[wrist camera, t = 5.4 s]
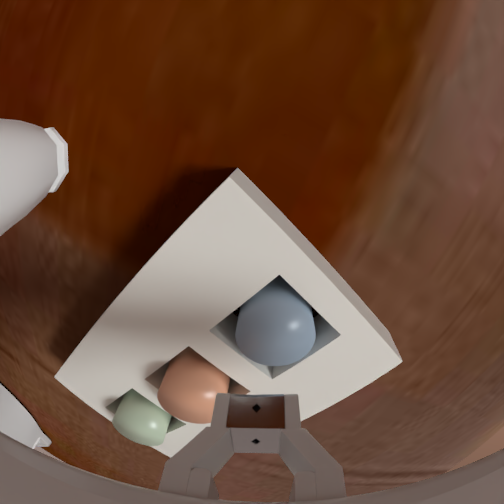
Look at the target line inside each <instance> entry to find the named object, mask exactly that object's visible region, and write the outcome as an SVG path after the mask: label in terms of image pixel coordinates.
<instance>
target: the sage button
mask: <svg viewBox="0 0 504 504" xmlns="http://www.w3.org/2000/svg"><path fill="white" fill-rule="evenodd" d="M171 416H172V415H171V414H169V413H167V412H166V411H164V410H163V409H161V408H160V407H158V406H157V405H155V404H154V403H152V402H151V401H149V400H148V399H147V398H145V397H144V396H142V395H141V394H140V393H138V392H137V391H135V390H134V389H133V388H132V389H130V390H129V391H127V392H126V393H125V394H124V396H123V398H122V400H121V402H120V404H119V407H118V409H117V411H116V413H115V415H114V417H113V419H112V423H113V425H114V427H115V428H116V430H117V431H118V432H119V433H121V434H122V435H123V436H125V437H126V438H128V439H130V440H132V441H134V442H136V443H139V444H143V445H147V446H158V445H161V444H162V443H163V442H164V438H165V435H166V432H167V429H168V426H169V423H170V419H171Z"/></svg>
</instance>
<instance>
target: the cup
mask: <svg viewBox="0 0 504 504" xmlns="http://www.w3.org/2000/svg"><path fill="white" fill-rule="evenodd" d="M68 171H69V168H68V144H67V143H66V142H65V140H64V139H63V138H62V137H61V136H60V134H59V133H58V132H57V131H56V130H55V128H54V127H52V128H46V129H43V128H42V127H40V126H37V125H34V124H30V123H27V122H24V121H20V120H10V119H0V236H1V235H2V234H3V233H4V232H6V231H7V230H8V229H9V228H11V227H12V226H13V225H14V224H16V223H17V222H18V221H20V220H21V219H22V218H23V217H25V216H26V215H27V214H28V213H29V212H30V211H31V210H32V209H33V208H34V207H35V206H36V205H37V204H39V203H40V202H41V201H42V200H43V199H44V198H45V197H46V195H47V193H48V192H54V191H57V189H58V187H59V186H60V184H61V182H62V181H63V179H64V178H65V176H66V175H67V173H68Z"/></svg>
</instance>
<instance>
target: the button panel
mask: <svg viewBox="0 0 504 504" xmlns="http://www.w3.org/2000/svg"><path fill="white" fill-rule="evenodd" d="M278 275H280V276H281V277H282V278H283V279H284V280H285V281H286V282H288V283H289V284H290V285H291V286H292V287H293V288H294V289H295V290H296V291H297V292H298V293H299V294H300V295H301V296H302V297H303V298H304V299H305V300H306V301H307V302H308V303H309V304H310V305H311V306H312V307H313V308H314V309H315V310H316V311H317V312H318V313H319V314H318V315H317V316H315V317H314V318H313V320H314V326H315V332H316V337H315V342H314V345H313V347H312V349H311V350H310V351H309V353H308V354H307V355H305V356H304V357H303V358H302V359H300V360H298V361H296V362H294V363H291V364H288V365H284V366H267V365H262V364H259V363H256V362H254V361H252V360H250V359H249V358H247V357H246V356H245V355H244V354H243V353H242V352H241V351H240V349H239V348H238V345H237V343H236V338H235V333H236V327H237V321H238V317H237V316H236V315H235V314H234V313H233V311H235V310H236V309H237V308H238V307H240V306H241V305H242V304H243V303H245V302H246V301H247V300H248V299H250V298H251V297H252V296H253V295H255V294H256V293H257V292H258V291H260V290H261V289H262V288H263V287H265V286H266V285H267V284H268V283H270V282H271V281H272V280H273V279H275V278H276V277H277V276H278ZM188 346H189V347H191V348H192V349H193V350H195V351H196V352H197V353H198V354H200V355H201V356H202V357H204V358H205V359H206V360H208V361H209V362H210V363H212V364H213V365H214V366H216V367H217V368H218V369H220V370H221V371H222V372H224V373H225V374H227V375H228V376H229V377H230V382H229V387H228V393H229V394H247V395H261V394H298V397H299V409H300V421H302V420H304V419H306V418H308V417H310V416H312V415H314V414H316V413H318V412H320V411H322V410H324V409H326V408H328V407H330V406H332V405H333V404H335V403H337V402H339V401H341V400H342V399H344V398H346V397H348V396H349V395H351V394H353V393H354V392H356V391H358V390H360V389H361V388H363V387H364V386H366V385H368V384H369V383H371V382H373V381H374V380H376V379H377V378H379V377H380V376H382V375H384V374H385V373H387V372H388V371H390V370H391V369H393V368H394V367H396V366H397V365H398V364H400V363H401V362H403V361H402V359H401V357H400V354H399V352H398V350H397V348H396V346H395V344H394V341H393V339H392V337H391V335H390V333H389V331H388V330H387V329H386V328H385V326H384V325H383V324H382V323H381V322H380V321H379V319H378V318H377V317H376V316H375V315H374V314H373V312H372V311H371V310H370V309H369V308H368V307H367V305H366V304H365V303H364V302H363V301H362V300H361V299H360V297H359V296H358V295H357V294H356V293H355V292H354V291H353V289H352V288H351V287H350V286H349V285H348V284H347V283H346V282H345V280H344V279H343V278H342V277H341V276H340V275H339V274H338V273H337V271H336V270H335V269H334V268H333V267H332V266H331V265H330V264H329V263H328V262H327V260H326V259H325V258H324V257H323V256H322V255H321V254H320V253H319V252H318V251H317V250H316V248H315V247H314V246H313V245H312V244H311V243H310V242H309V241H308V240H307V239H306V238H305V237H304V236H303V234H302V233H301V232H300V231H299V230H298V229H297V228H296V227H295V226H294V225H293V224H292V223H291V222H290V221H289V220H288V219H287V218H286V216H285V215H284V214H283V213H282V212H281V211H280V210H279V209H278V208H277V207H276V206H275V205H274V204H273V203H272V202H271V201H270V200H269V199H268V198H267V197H266V196H265V195H264V194H263V193H262V192H261V191H260V190H259V189H258V188H257V187H256V186H255V185H254V184H253V183H252V182H251V181H250V180H249V179H248V177H247V176H246V175H245V174H244V173H243V172H242V171H240V170H239V169H238V168H237V169H236V170H235V171H234V172H233V173H232V174H231V175H230V176H229V177H228V178H227V179H226V180H225V181H224V182H223V183H222V184H221V185H220V186H219V187H218V188H217V189H216V190H215V191H214V192H213V193H212V194H211V195H210V196H209V197H208V198H207V199H206V200H205V201H204V202H203V203H202V204H201V205H200V206H199V207H198V208H197V209H196V210H195V211H194V212H193V213H192V214H191V215H190V216H189V217H188V218H187V219H186V220H185V221H184V222H183V224H182V225H181V226H180V227H179V228H178V229H177V230H176V231H175V232H174V233H173V234H172V235H171V236H170V237H169V238H168V240H167V241H166V242H165V243H164V244H163V245H162V246H161V247H160V248H159V249H158V250H157V252H156V253H155V254H154V255H153V256H152V257H151V258H150V259H149V260H148V262H147V263H146V264H145V265H144V266H143V267H142V268H141V270H140V271H139V272H138V273H137V274H136V275H135V276H134V278H133V279H132V280H131V281H130V282H129V283H128V284H127V286H126V287H125V288H124V289H123V290H122V291H121V293H120V294H119V295H118V296H117V297H116V299H115V300H114V301H113V302H112V303H111V305H110V306H109V307H108V308H107V309H106V311H105V312H104V313H103V314H102V315H101V317H100V318H99V319H98V320H97V322H96V323H95V324H94V325H93V327H92V328H91V329H90V330H89V332H88V333H87V334H86V335H85V337H84V338H83V339H82V340H81V342H80V343H79V344H78V346H77V347H76V348H75V350H74V351H73V352H72V353H71V355H70V356H69V357H68V359H67V360H66V362H65V363H64V364H63V366H62V367H61V368H60V370H59V371H58V373H57V374H56V375H55V378H56V379H57V380H58V381H59V382H60V383H62V384H63V385H64V386H65V387H66V388H68V389H69V390H70V391H71V392H72V393H74V394H75V395H76V396H77V397H79V398H80V399H81V400H83V401H84V402H85V403H86V404H88V405H89V406H90V407H92V408H93V409H94V410H96V411H97V412H99V413H100V414H101V415H103V416H104V417H106V418H107V419H108V420H110V421H111V422H112V419H113V417H114V415H115V413H116V411H117V409H118V407H119V404H120V402H121V400H122V398H123V396H124V394H125V393H126V392H127V391H129V390H130V389H132V388H133V389H134V390H135V391H137V392H138V393H140V394H141V395H142V396H144V397H145V398H147V399H148V400H149V401H151V402H152V403H154V404H155V405H157V406H158V407H160V408H161V409H163V408H162V406H161V405H160V403H159V401H158V398H157V393H158V390H159V388H160V385H161V383H162V380H163V378H164V375H165V373H166V370H167V368H168V365H169V363H170V360H171V359H172V358H174V357H175V356H176V355H178V354H179V353H180V352H181V351H183V350H184V349H185V348H187V347H188ZM163 410H164V409H163ZM164 411H165V410H164ZM166 412H167V411H166ZM167 413H168V412H167ZM206 426H207V427H210V426H211V423H206V424H196V423H190V422H186V421H183V420H180V419H178V418H176V417H174V416H171V419H170V423H169V426H168V429H167V432H166V435H165V438H164V442H163V443H162V444H161V445H158V446H151V447H153V448H154V449H156V450H158V451H160V452H162V453H163V454H165V455H167V456H169V457H173V456H174V455H175V454H176V453H177V452H178V451H180V450H181V449H182V448H183V447H184V446H185V445H186V444H188V443H189V442H190V441H191V440H192V439H193V438H194V437H195V436H197V435H198V434H199V433H200V432H201V431H202V430H203V429H204V428H205V427H206Z"/></svg>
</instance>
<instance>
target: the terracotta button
mask: <svg viewBox="0 0 504 504" xmlns="http://www.w3.org/2000/svg"><path fill="white" fill-rule="evenodd" d="M229 382H230V377H229V376H228V375H227V374H225V373H224V372H222V371H221V370H220V369H218V368H217V367H216V366H214V365H213V364H212V363H210V362H209V361H208V360H206V359H205V358H204V357H202V356H201V355H200V354H198V353H197V352H196V351H195V350H193V349H192V348H191V347H190V348H185V349H184V350H183V351H181V352H180V353H179V354H178V355H176V356H175V357H174V358H172V359H171V360H170V363H169V365H168V368H167V370H166V373H165V375H164V378H163V380H162V383H161V385H160V388H159V390H158V393H157V398H158V401H159V403H160V405H161V406H162V408H163V409H164V410H165V411H167V412H168V413H169V414H171V415H172V416H174V417H176V418H178V419H180V420H183V421H186V422H190V423H196V424H206V423H211V420H212V415H213V409H214V404H215V398H216V395H217V393H228V387H229Z"/></svg>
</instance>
